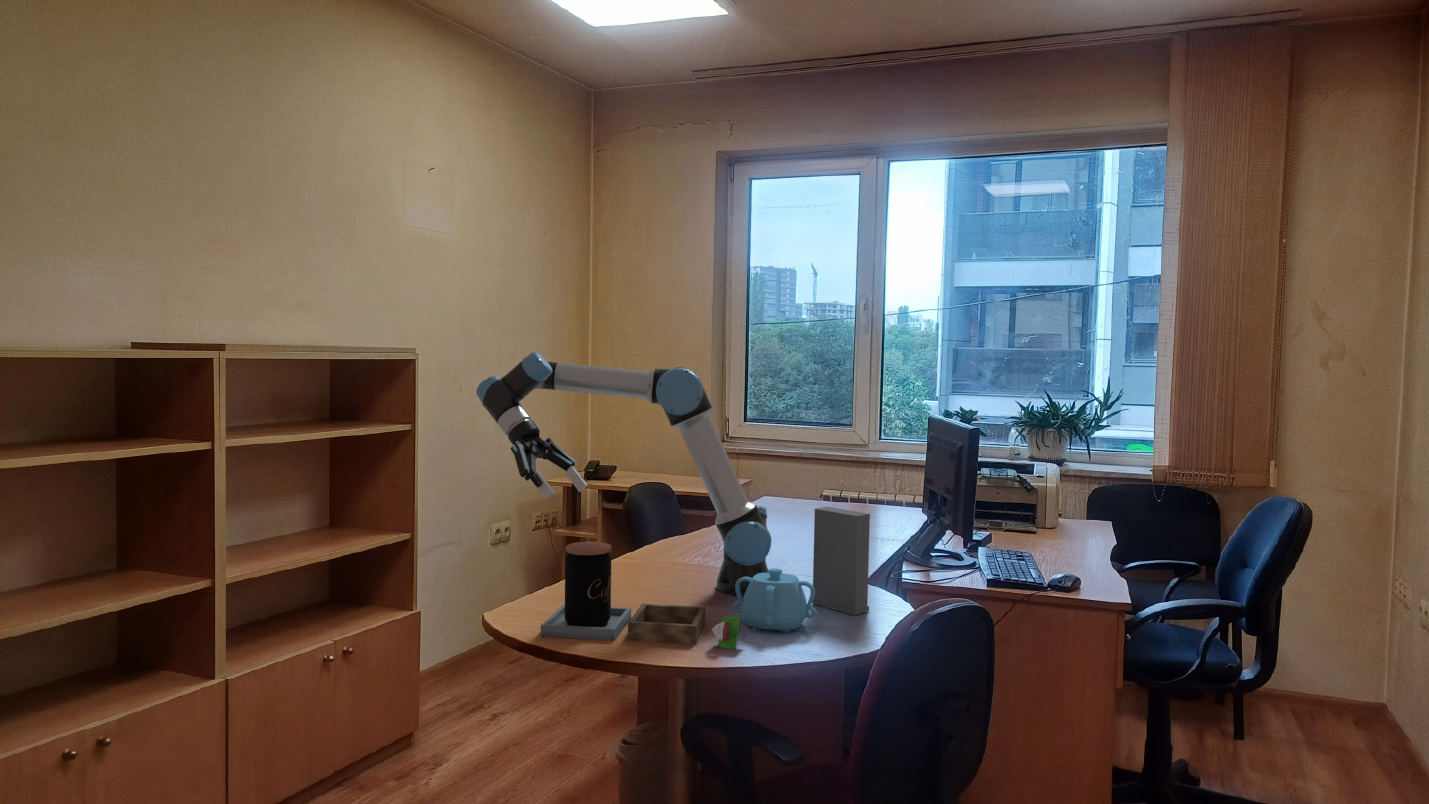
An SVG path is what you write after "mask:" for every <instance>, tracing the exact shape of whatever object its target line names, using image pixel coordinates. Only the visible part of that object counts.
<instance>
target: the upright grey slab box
mask: <svg viewBox="0 0 1429 804" xmlns="http://www.w3.org/2000/svg"><path fill="white" fill-rule="evenodd" d="M870 517H871V514H870V513H867V512H861V511H855V510H849V509H845V508H844V509H842V508H838V507H831V506H823V507H816V508H814V524H813V529H814V530H813V531H814V532H813V566H812V585H813V586H814V588H815V596H814V599H813V602H812V604H811V605H813V606H819V607H824V608H827V609H830V610H831V609H832V610H835V611H839V612H842V613H845V614H849V615H851V616H857V615H860V614H864V613H867V612H869V611H870V605H868V597H869V595H868V593H869V591H868V590H869V558H870V557H869V556H870V525H871V523H870V522H871V520H870V519H871V518H870Z"/></svg>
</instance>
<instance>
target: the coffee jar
mask: <svg viewBox="0 0 1429 804" xmlns="http://www.w3.org/2000/svg"><path fill="white" fill-rule="evenodd" d="M564 549H565V552H566V556H565V557H564V605H565V621H566V622H567V624H568V625H569V626H584V627H602V626H605V625H606V624H607V623H608V621H609V620H610V618H611V607H612V555H611V554H610V552H611V551H612V545H611V544H609V543H606V542H601V541H578V542H573V543H569V544H567V545H566V546H565V547H564Z"/></svg>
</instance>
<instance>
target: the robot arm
mask: <svg viewBox="0 0 1429 804" xmlns="http://www.w3.org/2000/svg"><path fill="white" fill-rule="evenodd" d="M536 389H538V390H539V389H540V390H541V389H542V390H548V391H549V390H550V391H551V390H552V391H561V392H562V391H563V392H571V393H573V392H574V393H583V394H593V395H601V396H612V397H621V398H622V397H623V398H631V399H633V398H634V399H641V400H647V401H648V402H649V403H650V404H655V405H660V407H661V408H662V409H663V410H664V414H665V415H666V418H667V420H668V422H669V424H670V426H671V428H673V429H676V430H678V431H679V432H680V434H681V437H682V438H683V441H684V443H685V445H686V447H687V449H688V450H687V451H688V452H689V454H690V456H691V459H692V461H693V463H694V465H695V467H696V470H697V472H698V474H699V476H700V478H701V480H702V483H703V484H704V487H705V489H706V492H707V495H708V496H709V498H710V501H711V502H712V505H713V507H714V510H715V511H716V515H717V516H716V518H715V521H714V523H715V526H716V528H717V530H718V532H719V535H720V537H721V539H722V541H723V561H722V564H721V567H720V569H719V572H718V573H719V574H718V575H717V579H716V589H717V591H719V592H722V593H725V594H729V595H734V596H735V595H736V596H737V594H736V590H735V584H736V582H737V581H738V580H739V579H740V578H742V577H750V578H753V577H754V576H755V575H756V574H758V573H769V571H768V570H769V569H768V565H767V564H768V563H767V562H766V561H767V560H766V559H767V556H768V554H769V553H770V550H771V546H772V536H771V533H770V532H769V530H768V527H767V519H768V514H767V508H766V507H765V506H762V505H761V506H760V505H757V503H756V502H755V503H754V502H752V501H749V499H748V497H747V495H746V494H745V491H744V489H743V487H742V485H741V482H740V480H739V478H738V475H737V473H736V471H735V469H734V467H733V464H732V462H731V460H730V457H729V456H728V453H727V451H726V449H725V447H724V445H723V443H722V440H721V438H720V436H719V434H718V431H717V429H716V427H715V424H714V422H713V420H712V418H711V413H712V411H713V406H712V404H711V401H710V399H709V396H708V395H707V392H706V390H705V388H704V386H703V382H702V379H701V378H700V376H699V375H698V374H697V373H696V372H695V371H693V370H692V369H689V368H687V367H684V366H683V367H682V366H676V367H672V368H655V367H653V368H652V369H651V370H650V371H649V370H640V369H639V370H638V369H630V368H629V369H626V368H617V367H616V368H615V367H608V366H607V367H606V366H598V365H597V366H595V365H586V364H585V365H584V364H578V363H568V362H567V363H566V362H554V361H547V360H546V359H545V358H544V357H543V356H542V354H540V353H539V352H537V351H533V352H531V353H529V354H528V355H527V356H526V357H523V359H522V360H521V361H520V362H519V363H518V364H516V365H515V366H514V367H513V368H512V369H511V370H510V371H508V372H507V373H506V374H505V375H503V377H499V376H498V375H492V376H489V377H487V378H486V379H483V380H482V381H481V382H480V383H479V384H478V386H477V388H476V392H475V393H476V397H478V399H479V400H480V402H481V403H482V406H483V408H484V409H486V411H487V412H488V413H489V414H490V416H491V417H492V418H493V420H494V421H495V422H496V424H497V426H499V428H500V429H501V431H502V432H503V433H504V434H505V436H507V439H508V440H509V442H510V443H511V444H512V446H511V447H510V450H511V452H512V454H513V456H514V459H515V463H516V466H517V469H518V473H519V476H520V477H521V478H524V480H525V481H527V482H528V481H529V480H530V481H531V482H532V483H533V485H534V487H536V488H537V489H538V491H539V492H540V494H542V496H543V498H544V499H545V500H549V498H551V497H552V495H553V494H554V493H555V490H554V489H553V488H552V486H551V485H550V484H549V483H548V481H547V480H546V478H545V477H544V476H543V475H542V474H541V472H540V471H537V467H536V466H537V461H536V460H537V459H542V460H547V461H549V462H550V463H552V464H554V465H555V466H557V467H559V468H560V469H562V470H563V471H565V472H564V474H565V475H566V477H567V478H568V479H569V481H570V482H571V483H572V484H573V486H574V487H575V488H576V490H577V491H578V493H581V492H582V491H584V490H585V488H586V487H587V486H588V484H587V482H586V481H585V480H584V478H583V477H582V476H581V475H580V473H579V472H578V470H577V469H576V468H575V466H576V464H577V463H578V462H577V460H576V459H574V458H573V457H572V456H570V455H569V454H568V453H567V452H566V451H564V450H563V449H562V448H561V447H560V446H559V445H557V444H556V443H555V442H554V441H553V440H552V439H551V437H546V439H545V440H544V439H542V438H541V437H540V435H541V434H540V433H541V430H540V429H539V427H538V426H537V424H536V423H535V421H533V420H532V418H531V417H530V415H529V414H528V413H527V411H526V410H525V409H524V408H523V406H522V405H521V404H520V402H521V401H522V400H523V399H525V398H526V397H527V396H528V395H529V394H531V393H532V392H533V391H534V390H536ZM749 584H750V582H748V581H743V582H741V583H740V591H741V594H742V596H744V595H745V592H746V590H747V588H748V586H749Z"/></svg>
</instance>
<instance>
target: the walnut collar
mask: <svg viewBox="0 0 1429 804" xmlns="http://www.w3.org/2000/svg"><path fill="white" fill-rule="evenodd" d="M706 608H707V607H706V606H698V605H697V606H696V605H676V604H658V603H641V605H640V606H639V607H638V608H637V610H636V612H634V614H633V615H632V616H631V619H630V621H629V622H628V623H627V641H630V642H631V641H635V642H650V643H664V644H665V643H666V644H667V643H670V644H681V645H682V644H683V645H684V644H685V645H697V643H698V641H699V639H700V637H701V634H702V633H703V630H704V627H705V626H706V613H707V612H706V611H707V610H706Z"/></svg>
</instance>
